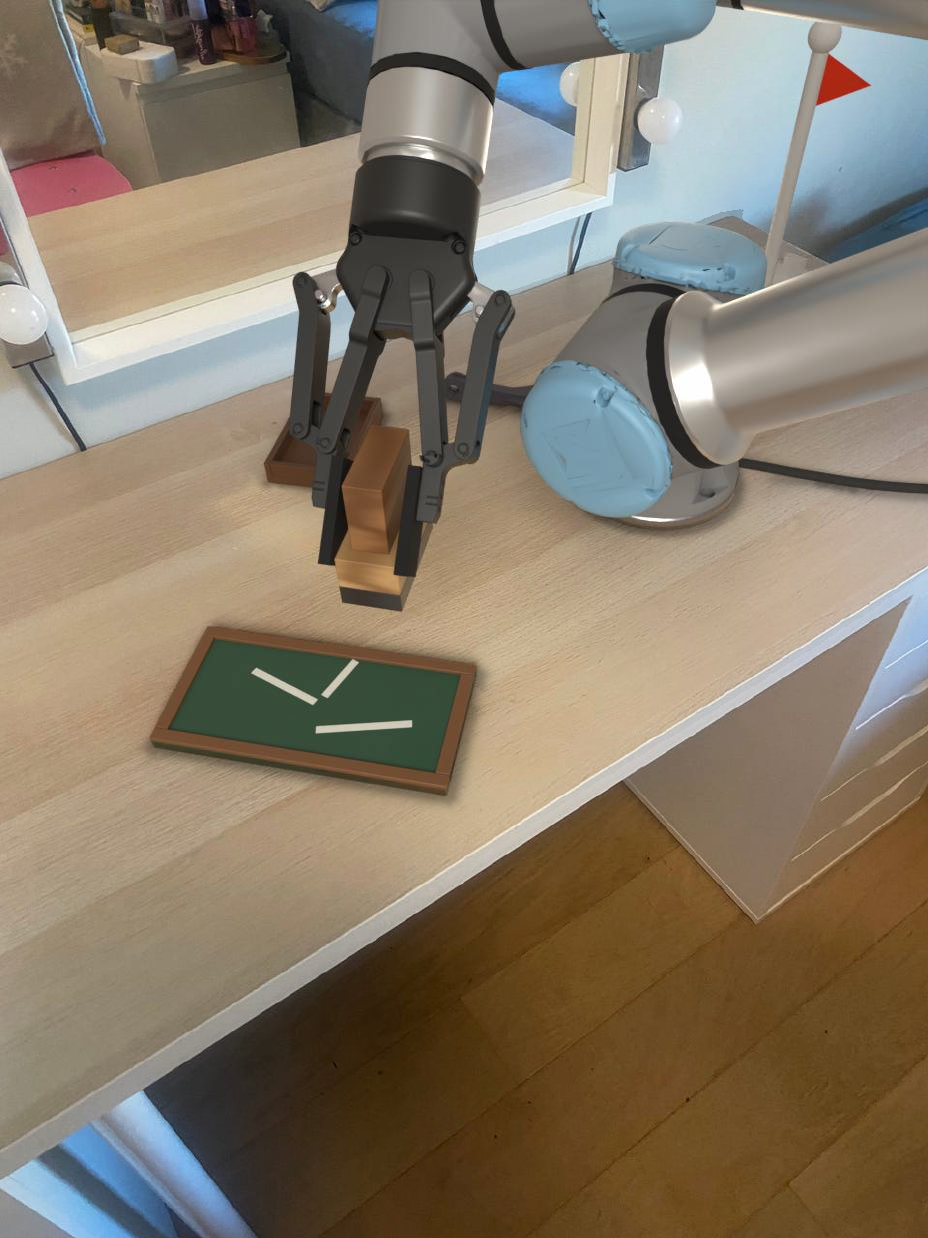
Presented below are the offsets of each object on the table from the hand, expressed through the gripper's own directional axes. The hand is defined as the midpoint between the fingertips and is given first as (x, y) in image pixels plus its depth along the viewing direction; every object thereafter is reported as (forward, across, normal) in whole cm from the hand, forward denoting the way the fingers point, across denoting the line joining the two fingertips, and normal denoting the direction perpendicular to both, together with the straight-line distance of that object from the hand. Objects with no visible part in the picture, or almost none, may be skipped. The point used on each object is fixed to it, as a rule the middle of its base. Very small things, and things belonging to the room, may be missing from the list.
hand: (367, 569), depth 54 cm
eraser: (0, 0, -5) cm, 5 cm away
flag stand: (-34, -26, -57) cm, 71 cm away
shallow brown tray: (-10, +15, -33) cm, 38 cm away
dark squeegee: (-18, -1, -42) cm, 45 cm away
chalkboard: (+11, +6, -12) cm, 17 cm away
